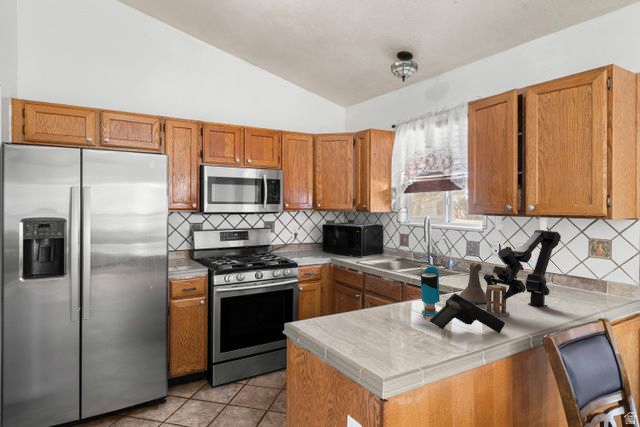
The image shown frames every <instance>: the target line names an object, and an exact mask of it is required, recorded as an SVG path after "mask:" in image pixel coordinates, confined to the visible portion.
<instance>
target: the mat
mask: <svg viewBox="0 0 640 427" xmlns="http://www.w3.org/2000/svg"><path fill="white" fill-rule="evenodd" d="M484 310H485V311H487V308H485V309H484ZM488 313H490V314H492V315H493V316H495V317H497V318H507V317H510V315H511V314H510V312H508V311H507V310H506V313H501V309H500V314H498V315H497V314H495V311H494V310H493V308H491V312H488Z"/></svg>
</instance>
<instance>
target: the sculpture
mask: <svg viewBox="0 0 640 427" xmlns="http://www.w3.org/2000/svg"><path fill="white" fill-rule="evenodd" d="M482 270H483V268H482V264H481V263H478V262H475V261H474V262H471V264H470V266H469V278H468V283H467V286H466V287H465V288H464V289H463V290H462V291H461V292H460V294H458V295H459V296H461V297H462V298H464V299H466V300H468V301H469V302H471V303H473V304H474V305H481V304H482V305H483V304H487V295H486V291H484V290H483V288H482V284H481V281H480V276H479V272H480V271H482Z"/></svg>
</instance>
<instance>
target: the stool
mask: <svg viewBox="0 0 640 427" xmlns="http://www.w3.org/2000/svg"><path fill="white" fill-rule="evenodd" d="M486 290H487V303H486V309H487V312H491V309H493V310H494V311H495V314H497V315H498V314H500V310H501V313H506V311H507V299H506V300H504V296H505V294H506V292H507V286H504V285H499V284H497V285H488V286H487V285H486ZM492 292H493V293H492ZM492 294H493V295H492Z"/></svg>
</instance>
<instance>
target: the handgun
mask: <svg viewBox="0 0 640 427" xmlns="http://www.w3.org/2000/svg"><path fill="white" fill-rule="evenodd" d="M432 316H433V317H431V318H430V319H429V322H430V323H431V324H433V325H435V326H436V327H437V328H440V329H441V330H443V329H444V328H445V327H447V325H448V324H450V323H451V322H452V321H453V319H456V320H458V321H460V322H461V323H463V324H465V325H473V324H474V322H475V321H476V322H477V321H478V322H479V323H481V324H482V325H484V326H486V327H488V328H490V329H491V330H493V331H494V332H496V333H498V334H500V333H501V332H502V331H503V328H504V327H505V325H506V322H505V321H504V320H502V319H500V317H496V316H493V315H492V314H490V313H488V312H487V311H485V309H483V308H481V307H480V306H478V305H477V304H473V303H471V302H469V301H468V300H466V299H464V298H462V297H461V296H459V294H457V293H455V292H454V293H453V294H452V295H451V296H450V297H449V298H447V299H446V300H445V305H444V306H443V307H441V309H440V310H438V313H437V314H436V315H432Z"/></svg>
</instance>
